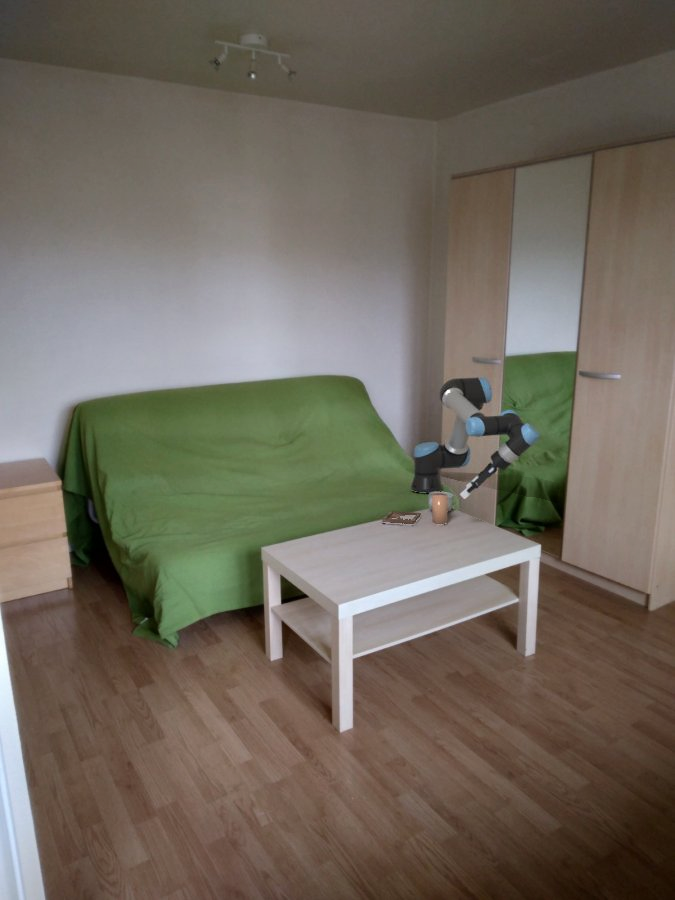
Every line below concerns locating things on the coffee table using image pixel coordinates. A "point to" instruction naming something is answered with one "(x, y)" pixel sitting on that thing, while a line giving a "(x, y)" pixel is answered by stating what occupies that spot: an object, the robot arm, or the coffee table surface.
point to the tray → (397, 514)
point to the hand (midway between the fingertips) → (465, 492)
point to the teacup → (449, 499)
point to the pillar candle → (439, 508)
